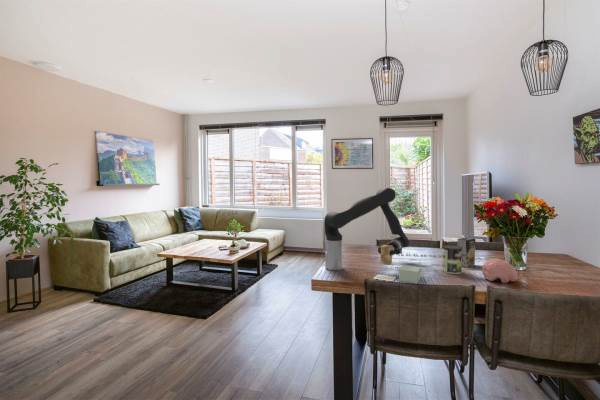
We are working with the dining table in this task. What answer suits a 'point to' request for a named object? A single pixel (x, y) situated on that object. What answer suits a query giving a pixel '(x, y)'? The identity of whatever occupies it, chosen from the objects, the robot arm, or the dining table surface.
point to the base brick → (409, 274)
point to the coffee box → (467, 251)
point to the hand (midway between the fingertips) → (385, 252)
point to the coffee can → (451, 259)
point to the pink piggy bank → (499, 270)
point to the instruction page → (384, 277)
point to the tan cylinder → (386, 254)
